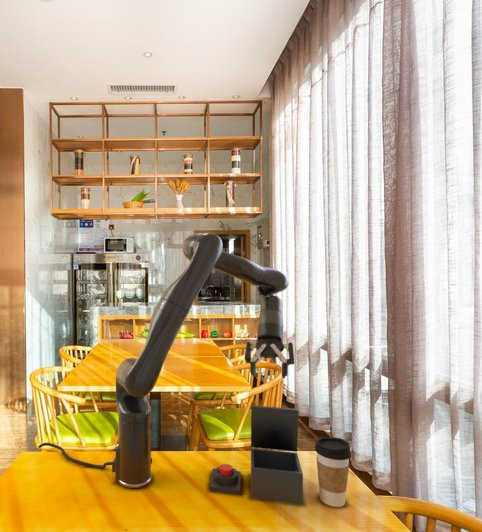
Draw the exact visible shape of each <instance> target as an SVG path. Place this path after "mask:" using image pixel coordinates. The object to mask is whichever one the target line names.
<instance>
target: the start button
mask: <svg viewBox="0 0 482 532" xmlns="http://www.w3.org/2000/svg"><path fill="white" fill-rule="evenodd" d="M218 467H219V473H220V475H223V476H232V474H233V468H234V467H233V466H232V465H231V464H228V463H222V464H220V465H219V466H218Z"/></svg>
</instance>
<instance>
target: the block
mask: <svg viewBox="0 0 482 532" xmlns="http://www.w3.org/2000/svg"><path fill="white" fill-rule="evenodd" d="M219 467H220V466H217V467H216V468H215V467H213V468H212V471H211V477H210V482H209V492H214V493H222V494H223V493H224V494H231V495H238V496H241V490H242V489H241V487H242V471H241V470H236V469H235V468H234V467H233V474H232V476H223V475H220V473H219Z"/></svg>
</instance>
